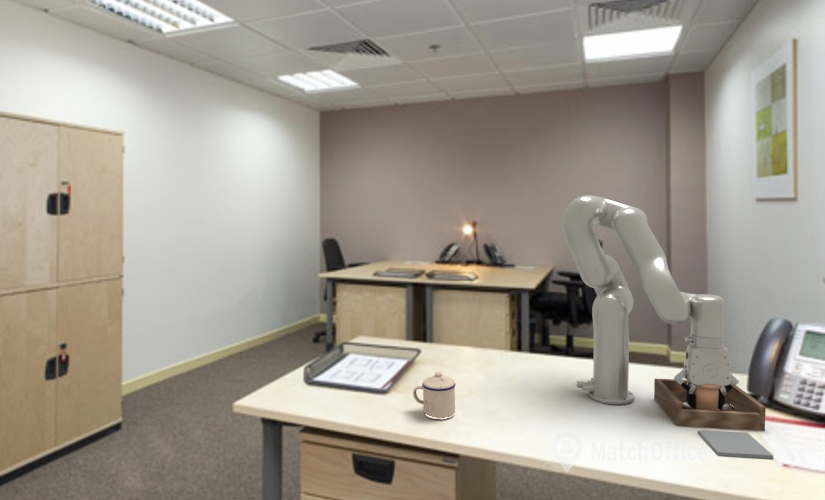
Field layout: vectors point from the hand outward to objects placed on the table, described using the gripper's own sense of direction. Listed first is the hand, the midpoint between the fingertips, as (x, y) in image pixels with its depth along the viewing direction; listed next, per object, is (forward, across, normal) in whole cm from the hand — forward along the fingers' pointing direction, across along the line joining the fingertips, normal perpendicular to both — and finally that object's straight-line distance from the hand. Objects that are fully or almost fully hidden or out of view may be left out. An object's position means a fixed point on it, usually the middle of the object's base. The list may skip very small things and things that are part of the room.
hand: (705, 406), depth 128 cm
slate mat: (+2, -1, -18) cm, 18 cm away
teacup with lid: (+2, -72, -9) cm, 73 cm away
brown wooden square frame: (+2, 0, 0) cm, 2 cm away
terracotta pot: (+2, 0, 0) cm, 2 cm away
